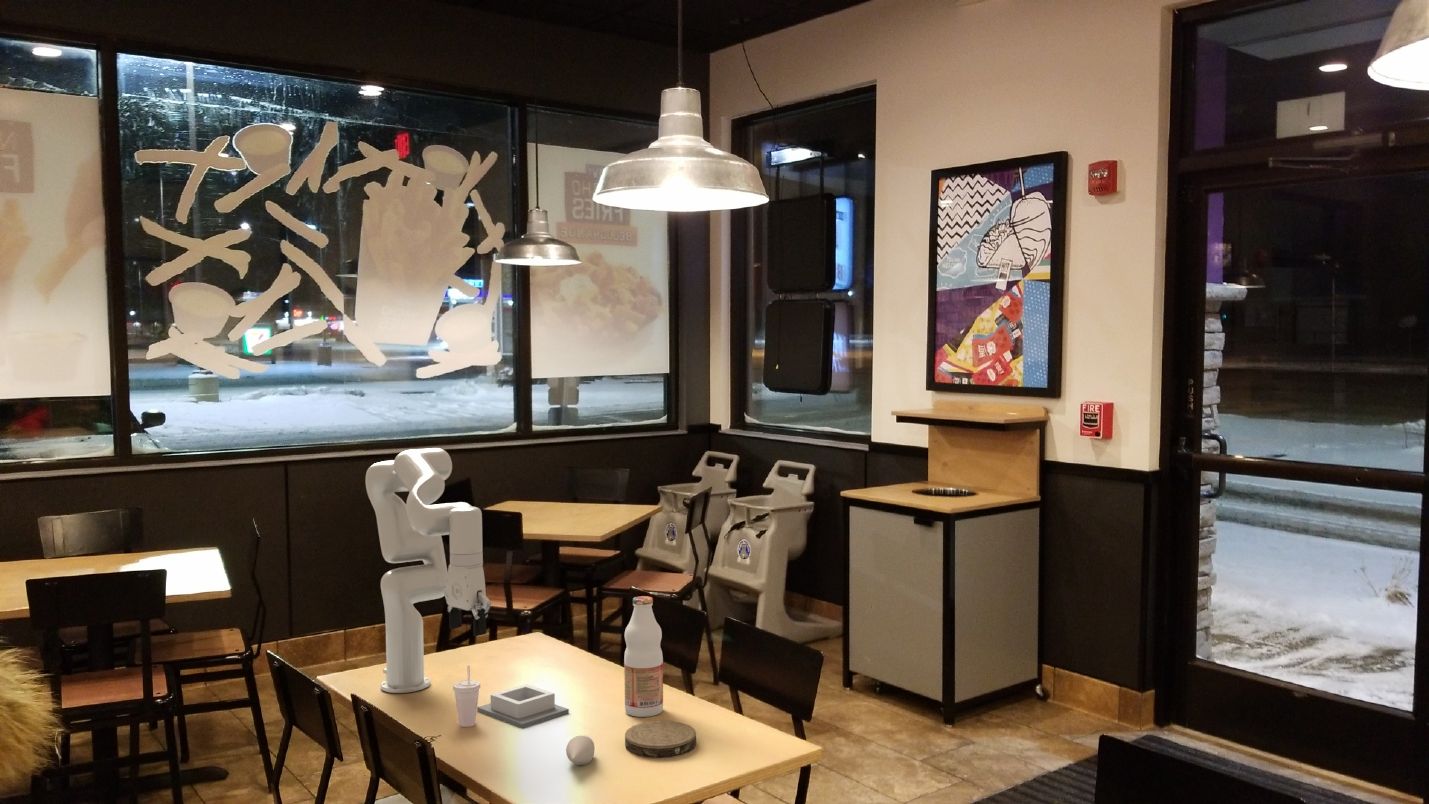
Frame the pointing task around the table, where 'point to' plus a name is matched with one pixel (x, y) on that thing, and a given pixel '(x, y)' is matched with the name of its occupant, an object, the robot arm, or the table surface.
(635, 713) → the fruit juice
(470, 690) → the smoothie
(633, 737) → the brown flat round piece
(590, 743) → the beige pointed round piece
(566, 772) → the table surface
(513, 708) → the cup holder
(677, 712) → the table surface
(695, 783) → the table surface
